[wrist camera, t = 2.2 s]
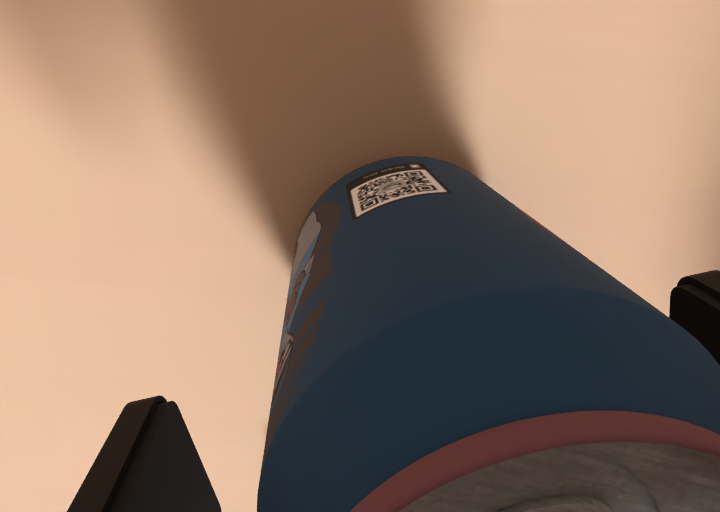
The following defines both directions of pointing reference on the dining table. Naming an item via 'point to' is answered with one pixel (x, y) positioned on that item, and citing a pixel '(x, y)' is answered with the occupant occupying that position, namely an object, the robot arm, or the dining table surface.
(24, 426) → the dining table surface
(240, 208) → the dining table surface
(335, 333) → the soda can
